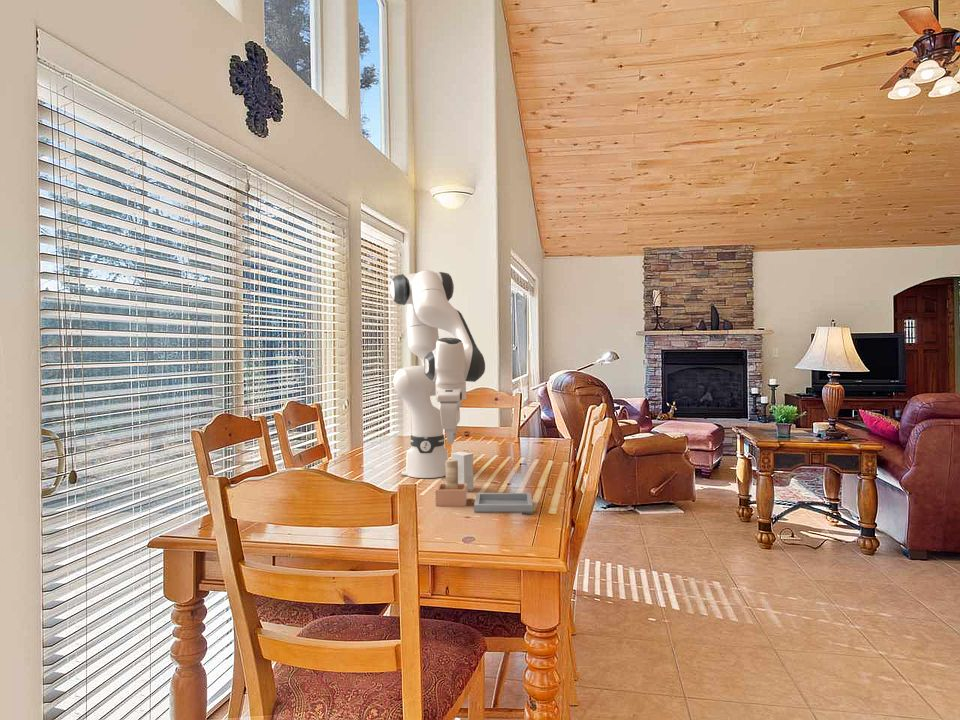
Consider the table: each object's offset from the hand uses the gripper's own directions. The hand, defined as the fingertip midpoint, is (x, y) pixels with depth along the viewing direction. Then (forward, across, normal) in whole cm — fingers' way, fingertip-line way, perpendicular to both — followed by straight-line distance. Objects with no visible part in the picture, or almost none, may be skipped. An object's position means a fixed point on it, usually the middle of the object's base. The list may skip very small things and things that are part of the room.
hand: (451, 441), depth 183 cm
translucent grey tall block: (+18, -1, 0) cm, 18 cm away
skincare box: (+18, -17, +2) cm, 25 cm away
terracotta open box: (+18, -1, 0) cm, 18 cm away
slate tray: (+19, +3, +15) cm, 24 cm away
